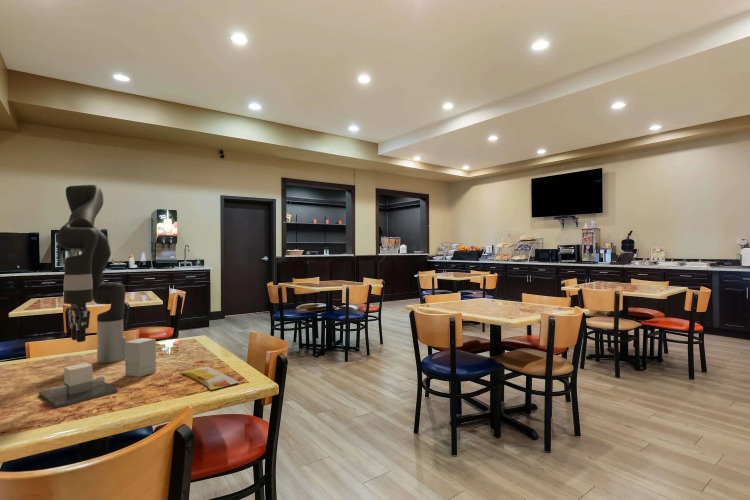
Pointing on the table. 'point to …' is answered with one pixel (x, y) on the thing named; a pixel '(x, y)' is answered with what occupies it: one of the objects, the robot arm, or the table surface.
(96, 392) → the rail board
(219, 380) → the food package
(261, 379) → the table surface
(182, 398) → the table surface
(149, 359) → the supplement box
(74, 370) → the block
